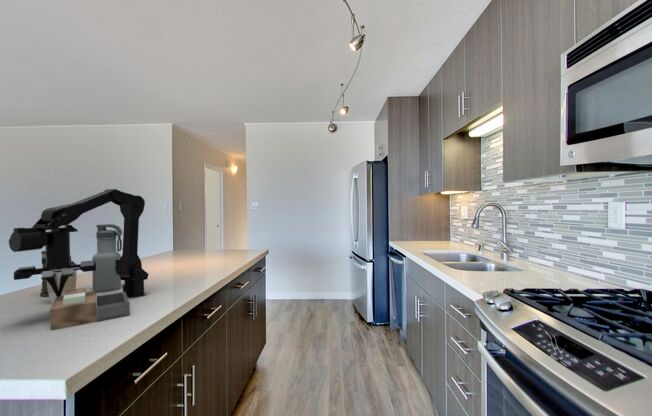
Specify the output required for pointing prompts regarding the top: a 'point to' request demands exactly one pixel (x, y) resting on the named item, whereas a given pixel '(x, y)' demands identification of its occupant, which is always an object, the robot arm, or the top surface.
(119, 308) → the box
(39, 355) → the top surface
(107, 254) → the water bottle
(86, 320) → the block
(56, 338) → the top surface
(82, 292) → the terracotta tile
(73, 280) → the coffee cup
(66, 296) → the sage tile
